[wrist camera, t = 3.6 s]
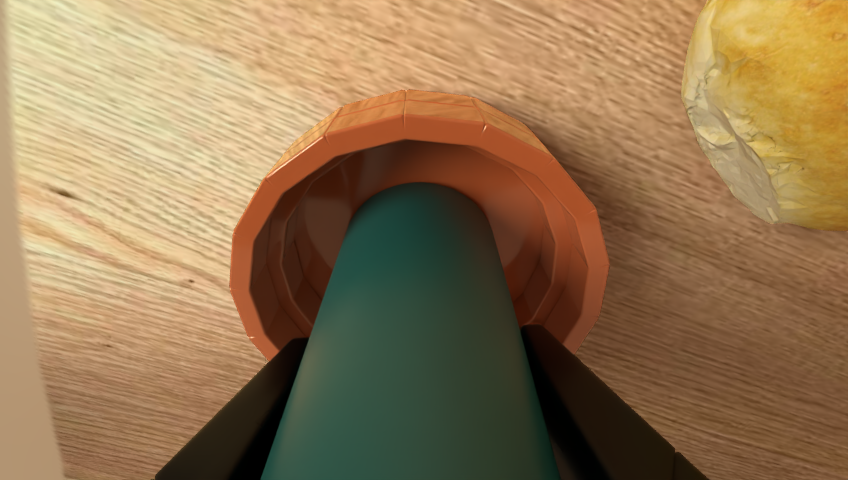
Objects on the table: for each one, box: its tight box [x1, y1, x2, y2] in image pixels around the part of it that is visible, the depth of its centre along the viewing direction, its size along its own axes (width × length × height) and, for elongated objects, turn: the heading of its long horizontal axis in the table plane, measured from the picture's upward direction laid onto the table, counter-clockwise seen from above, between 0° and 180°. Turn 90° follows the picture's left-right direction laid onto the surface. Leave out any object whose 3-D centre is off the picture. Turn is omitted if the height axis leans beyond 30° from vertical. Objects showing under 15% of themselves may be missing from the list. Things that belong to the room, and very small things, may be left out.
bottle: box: [260, 182, 561, 480], centre depth 7 cm, size 4×4×11 cm
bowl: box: [229, 89, 610, 361], centre depth 11 cm, size 9×9×3 cm
